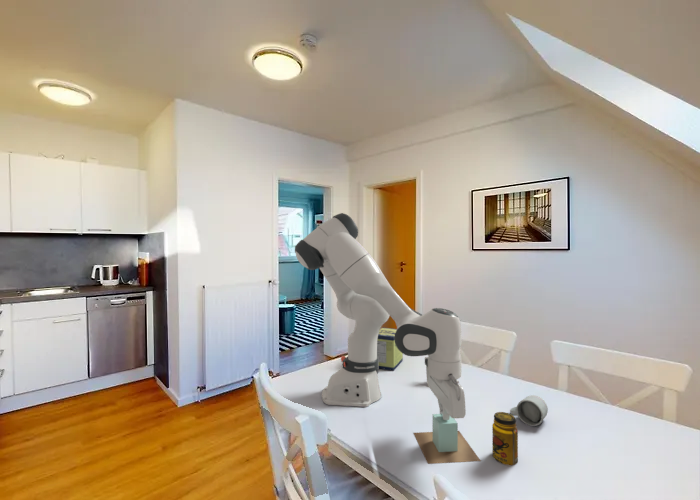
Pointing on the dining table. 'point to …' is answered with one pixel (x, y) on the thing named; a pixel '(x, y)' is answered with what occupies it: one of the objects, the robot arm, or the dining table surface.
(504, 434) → the condiment
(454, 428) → the mint green upright block
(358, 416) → the dining table surface
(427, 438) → the board
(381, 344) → the protein box
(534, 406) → the ceramic mug
